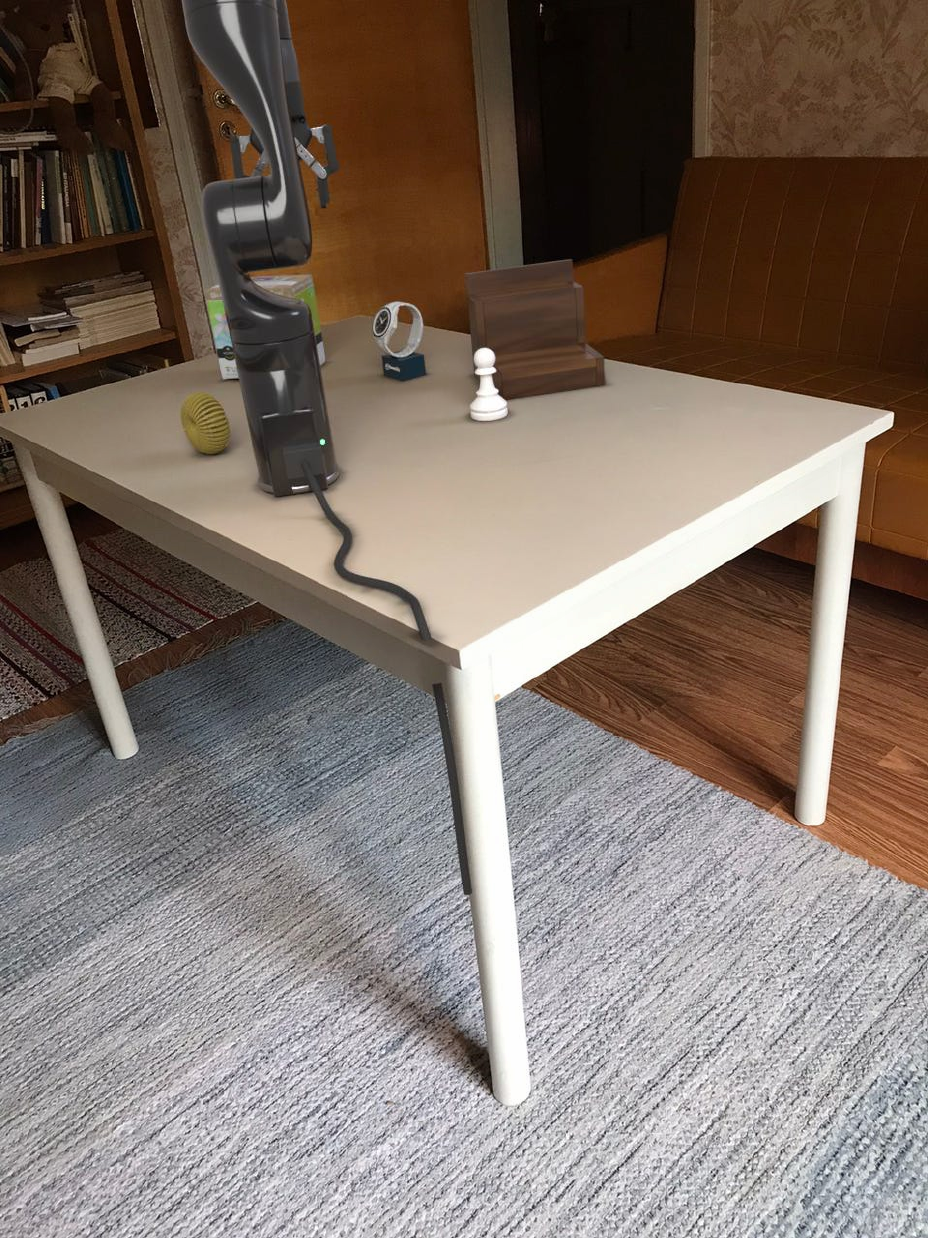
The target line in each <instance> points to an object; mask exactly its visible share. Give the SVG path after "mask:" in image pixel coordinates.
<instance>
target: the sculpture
mask: <svg viewBox="0 0 928 1238" xmlns="http://www.w3.org/2000/svg"><path fill="white" fill-rule="evenodd" d="M180 421H181V426H182V429H183V432H184V434H185V437H186V438H187V440H188V441H189V443H190V444H191V445H192V447H193V448H195V450H197V451H199V452H200V453H203V454H206V455H215V454H218V453H221V452H222V451H224V450H225V448H226V447H227V445H228V444H229V441H230V438H231V427H230V426H231V425H230V422H229V418H228V415H227V414H226V411H225V409H224V407H223V406H222V405H221V403H220V402H219V401H218V400H217V399H216V398H215V397H214V396H213V395H210V394H208V393H205V392H195V393H193V394H190V395H188V396H187V397H186V398H185V399H184V401H183V402H182V405H181V408H180Z"/></svg>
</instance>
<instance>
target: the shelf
mask: <svg viewBox="0 0 928 1238" xmlns="http://www.w3.org/2000/svg"><path fill="white" fill-rule="evenodd" d="M573 261H574V260H573V259H571V258H570V259H562V260H555V261H547V262H540V263H534V264H533V263H531V264H524V265H518V266H517V265H516V266H509V267H502V268H496V269H488V270H480V271H473V272H465V273H464V278H465V279H464V280H465V290H466V300H467V310H468V312H467V313H468V322H469V323H468V324H469V331H470V333H469V334H470V343H471V344H470V345H471V353H472V355H471V356H472V363H473V364H472V366H473V374H474V375H473V376H474V377H475V378H476V380H477V381H478V382H479V383H480V375H477V374H475V371H476V369H477V368H478V367H477V366H476V365H475V363H474V355H475V353H476V351H477V350H479V349H481V348H488V349H490V350H492V351H493V353H494V355H495V363H494V365H493V366H492V367H494V368H495V369H496V372H495V373H492V379H493V384H494V387H495V388H496V389H498V395H499V396H500V397H502V398H503V399H504V400H505V401H507V400H514V399H521V398H526V397H533V396H539V395H547V394H553V393H561V392H567V391H574V390H581V389H586V388H587V389H588V388H593V387H600V386H605V385H606V374H605V373H606V371H605V368H606V367H605V356H604V355H602V354H601V353H599V351H597V350H595V349H594V348H593V347H591V345H590V344H588V343H586V342H587V341H586V340H587V339H586V319H585V318H586V316H585V315H586V313H585V293H584V292H585V291H584V290H585V289H584V286H583V285H581V284H580V283H578V282H576V281H574V264H573Z"/></svg>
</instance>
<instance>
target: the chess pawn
mask: <svg viewBox="0 0 928 1238" xmlns="http://www.w3.org/2000/svg"><path fill="white" fill-rule="evenodd" d="M474 363H475V365H476V366H477V367H478V368H477V369H476V371H475V374H477V375H480V382H479V389H478V390H476V393H475V394H476V397H475V399H474V400H473V401H472V402H471V403H470V404H469V409H470V418H471V419H472V420H474V421H478V422H493V421H498V420H500V419H504V418H505V417H507V416H508V414H509V408H508V402H507V400H504V399H503V398H502V397H500V396H499V395H498V389H496V388H495V387H494V384H493V379H492V373H495V372H496V369H495V368H494V367H492V366H493V365H494V363H495V355H494V353H493V351H492V350H490V349H488V348H481V349H479V350H477V351H476V353H475V355H474Z"/></svg>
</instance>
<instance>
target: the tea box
mask: <svg viewBox="0 0 928 1238" xmlns="http://www.w3.org/2000/svg"><path fill="white" fill-rule="evenodd" d="M250 278H251V279H252V280H253V282H255V283H256V284H257V285H258V286H260V287H262V288H263V289H265V290H267V291H270V292H272V293H275V294H278V295H281V296H285V297H289V298H294V299H298V300H301V301H303V302H305V303H306V304H307V305H308V306H309V308H310V310H311V314H312V319H313V325H314V331H315V337H316V343H317V349H318V356H319V362H320V367H321V366H322V365H323V364H325V362H326V356H325V349H324V342H323V334H322V329H321V328H322V327H321V322H320V316H319V309H318V302H317V296H316V295H317V294H316V290H315V283H314V278H313V274H311V273H309V274H288V275H287V274H286V275H264V276H250ZM204 296H205V302H206V308H207V312H208V316H209V321H210V326H211V331H212V332H211V333H212V337H213V341H214V347H215V350H216V355H217V356H216V357H217V360H218V364H219V369H220V373H221V378H222V380H224V381H225V380H233V379H239V377H238V372H237V367H236V362H235V357H234V352H233V347H232V342H231V338H230V333H229V328H228V323H227V319H226V314H225V310H224V305H223V301H222V296H221V291H220V287H219V283H217V284H215V285H213V286H211V287H209V288H208V289H204Z"/></svg>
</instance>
